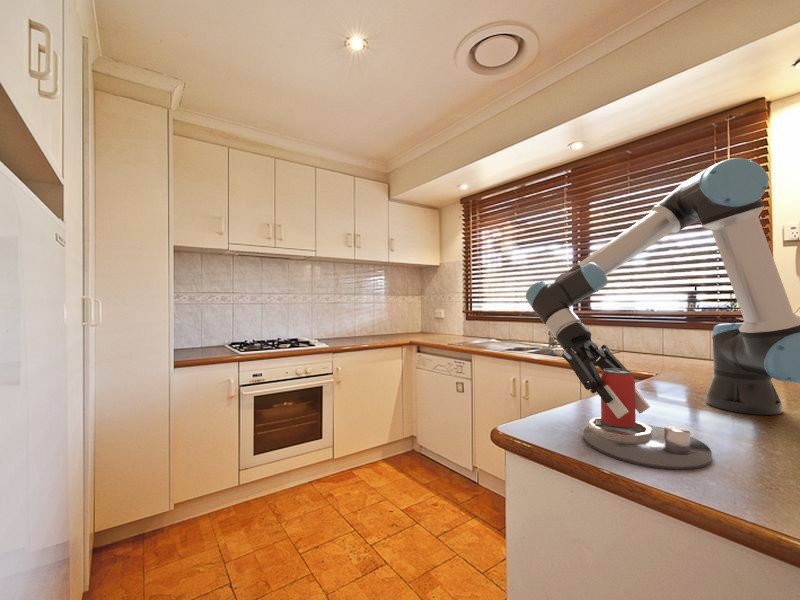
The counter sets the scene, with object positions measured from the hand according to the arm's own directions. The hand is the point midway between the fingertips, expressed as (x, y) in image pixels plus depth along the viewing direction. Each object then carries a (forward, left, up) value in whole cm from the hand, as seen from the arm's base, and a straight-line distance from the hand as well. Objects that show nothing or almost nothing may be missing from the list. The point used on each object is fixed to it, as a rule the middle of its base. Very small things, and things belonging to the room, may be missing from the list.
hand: (634, 412), depth 77 cm
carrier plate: (-1, +1, -7) cm, 7 cm away
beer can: (+2, -3, -4) cm, 5 cm away
